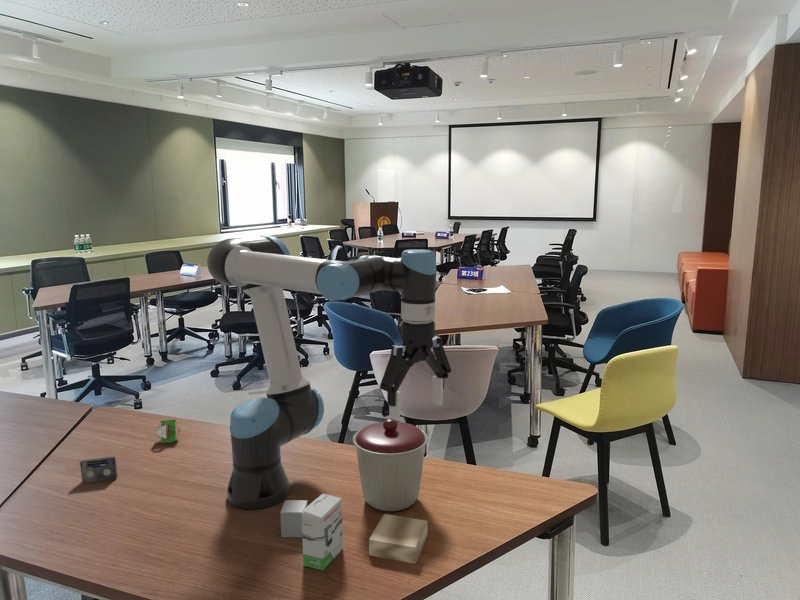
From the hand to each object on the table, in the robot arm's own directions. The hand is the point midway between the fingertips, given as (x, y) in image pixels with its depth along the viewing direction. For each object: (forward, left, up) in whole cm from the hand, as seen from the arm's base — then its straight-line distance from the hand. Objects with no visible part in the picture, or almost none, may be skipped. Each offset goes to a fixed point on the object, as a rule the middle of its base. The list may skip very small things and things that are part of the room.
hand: (416, 411), depth 129 cm
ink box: (-15, -21, -26) cm, 36 cm away
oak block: (-1, -13, -26) cm, 29 cm away
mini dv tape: (-85, -7, -26) cm, 89 cm away
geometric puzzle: (-84, +19, -26) cm, 89 cm away
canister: (-8, +4, -26) cm, 27 cm away
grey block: (-25, -14, -25) cm, 38 cm away
